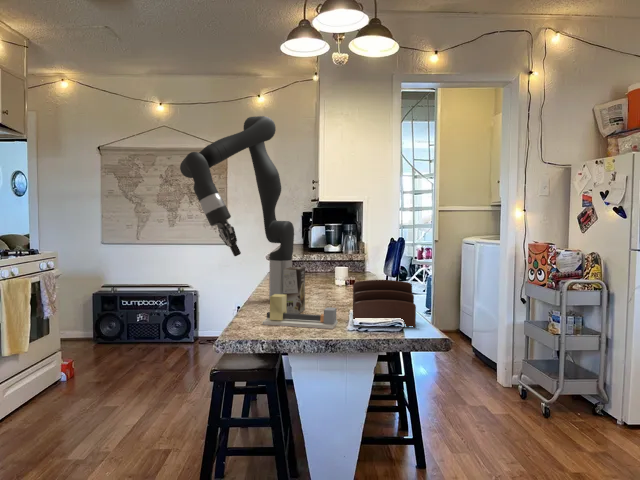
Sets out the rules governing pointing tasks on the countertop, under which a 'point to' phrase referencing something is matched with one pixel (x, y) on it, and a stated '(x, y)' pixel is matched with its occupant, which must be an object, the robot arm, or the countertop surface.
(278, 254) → the robot arm
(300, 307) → the coffee box
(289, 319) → the white base plate
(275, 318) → the sleeve
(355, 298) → the letter holder
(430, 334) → the countertop surface
